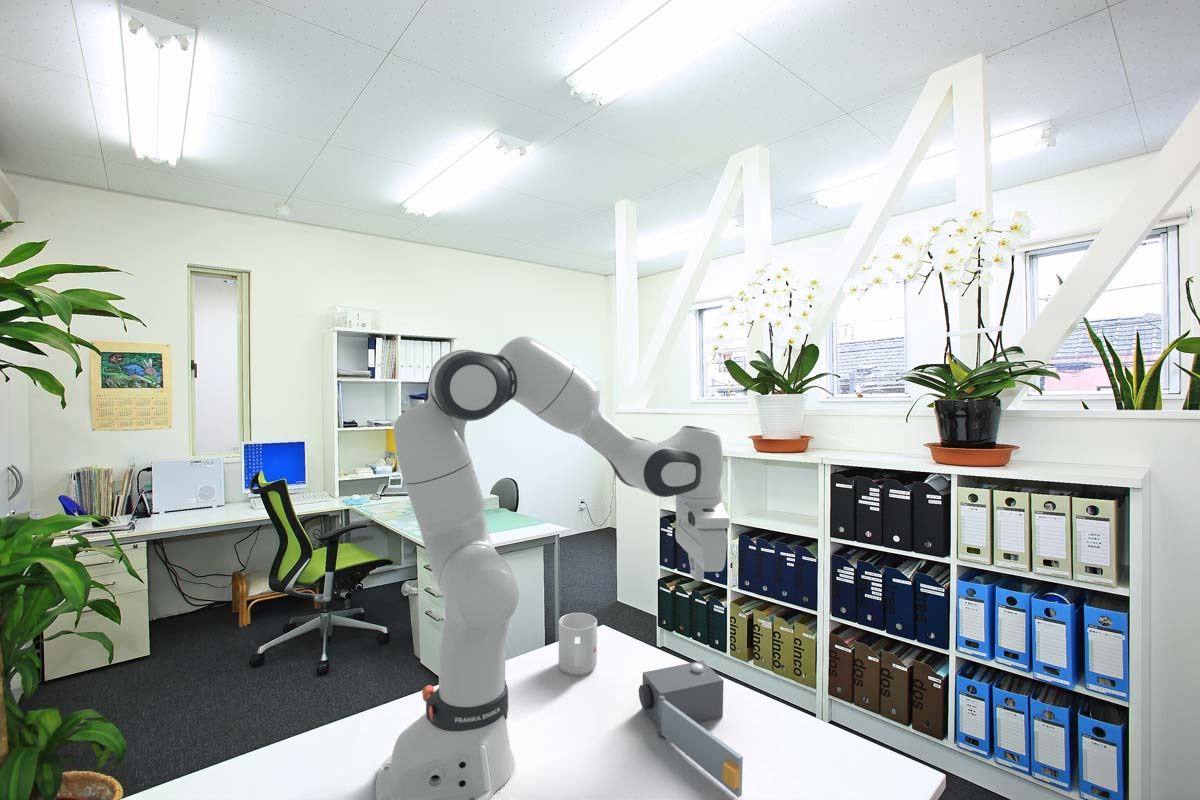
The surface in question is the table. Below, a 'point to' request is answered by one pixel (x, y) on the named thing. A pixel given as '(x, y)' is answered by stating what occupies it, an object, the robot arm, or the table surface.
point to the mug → (577, 643)
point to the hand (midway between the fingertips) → (696, 578)
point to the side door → (700, 746)
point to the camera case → (684, 691)
